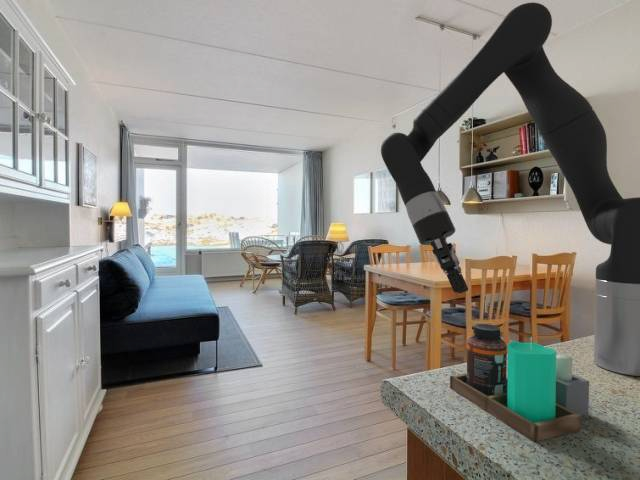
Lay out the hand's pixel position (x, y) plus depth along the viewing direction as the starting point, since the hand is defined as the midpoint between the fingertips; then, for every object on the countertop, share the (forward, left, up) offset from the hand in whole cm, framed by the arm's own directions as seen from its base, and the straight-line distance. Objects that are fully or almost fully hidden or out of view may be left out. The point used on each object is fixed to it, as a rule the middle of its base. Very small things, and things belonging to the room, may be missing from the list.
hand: (462, 291), depth 68 cm
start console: (-4, +18, -15) cm, 23 cm away
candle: (+4, +18, -15) cm, 24 cm away
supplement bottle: (+4, +10, -15) cm, 19 cm away
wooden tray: (+4, +14, -15) cm, 21 cm away
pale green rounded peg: (-4, +18, -13) cm, 22 cm away
